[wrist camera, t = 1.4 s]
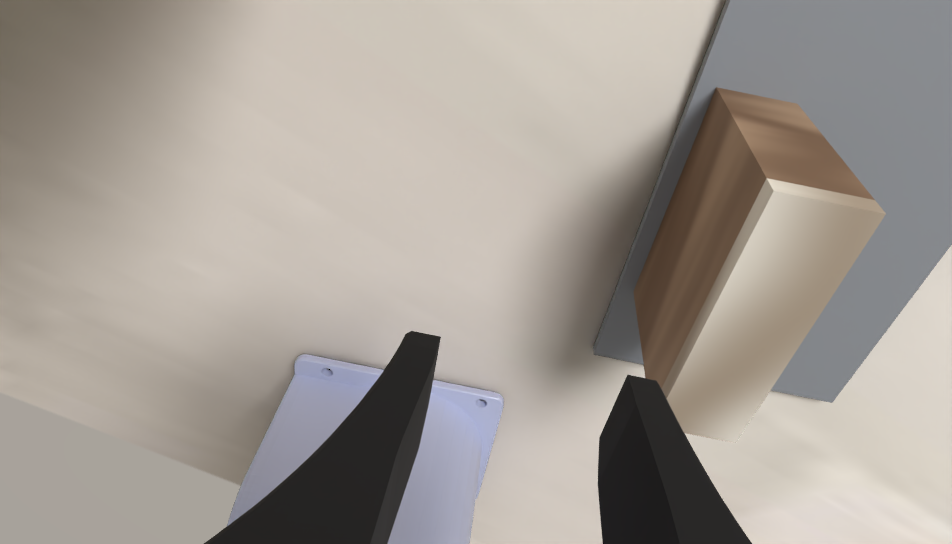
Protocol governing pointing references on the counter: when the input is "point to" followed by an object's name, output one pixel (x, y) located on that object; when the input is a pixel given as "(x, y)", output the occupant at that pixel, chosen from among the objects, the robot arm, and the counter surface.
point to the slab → (746, 259)
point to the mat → (854, 139)
